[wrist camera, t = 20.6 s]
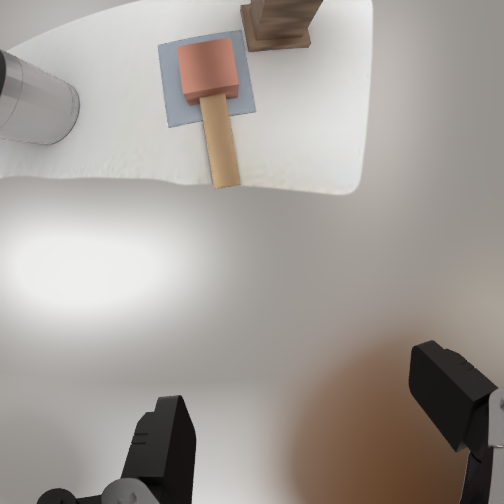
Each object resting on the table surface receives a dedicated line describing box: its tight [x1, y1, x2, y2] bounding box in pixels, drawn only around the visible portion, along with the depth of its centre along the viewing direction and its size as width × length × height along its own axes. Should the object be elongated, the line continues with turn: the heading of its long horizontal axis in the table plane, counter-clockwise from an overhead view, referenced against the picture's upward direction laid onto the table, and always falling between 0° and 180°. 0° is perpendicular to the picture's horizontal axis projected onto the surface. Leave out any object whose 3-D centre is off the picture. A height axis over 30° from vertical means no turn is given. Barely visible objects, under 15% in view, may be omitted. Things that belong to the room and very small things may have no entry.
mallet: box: [177, 38, 240, 189], centre depth 34 cm, size 6×17×6 cm, turn 9°
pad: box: [158, 30, 256, 127], centre depth 36 cm, size 11×12×1 cm
